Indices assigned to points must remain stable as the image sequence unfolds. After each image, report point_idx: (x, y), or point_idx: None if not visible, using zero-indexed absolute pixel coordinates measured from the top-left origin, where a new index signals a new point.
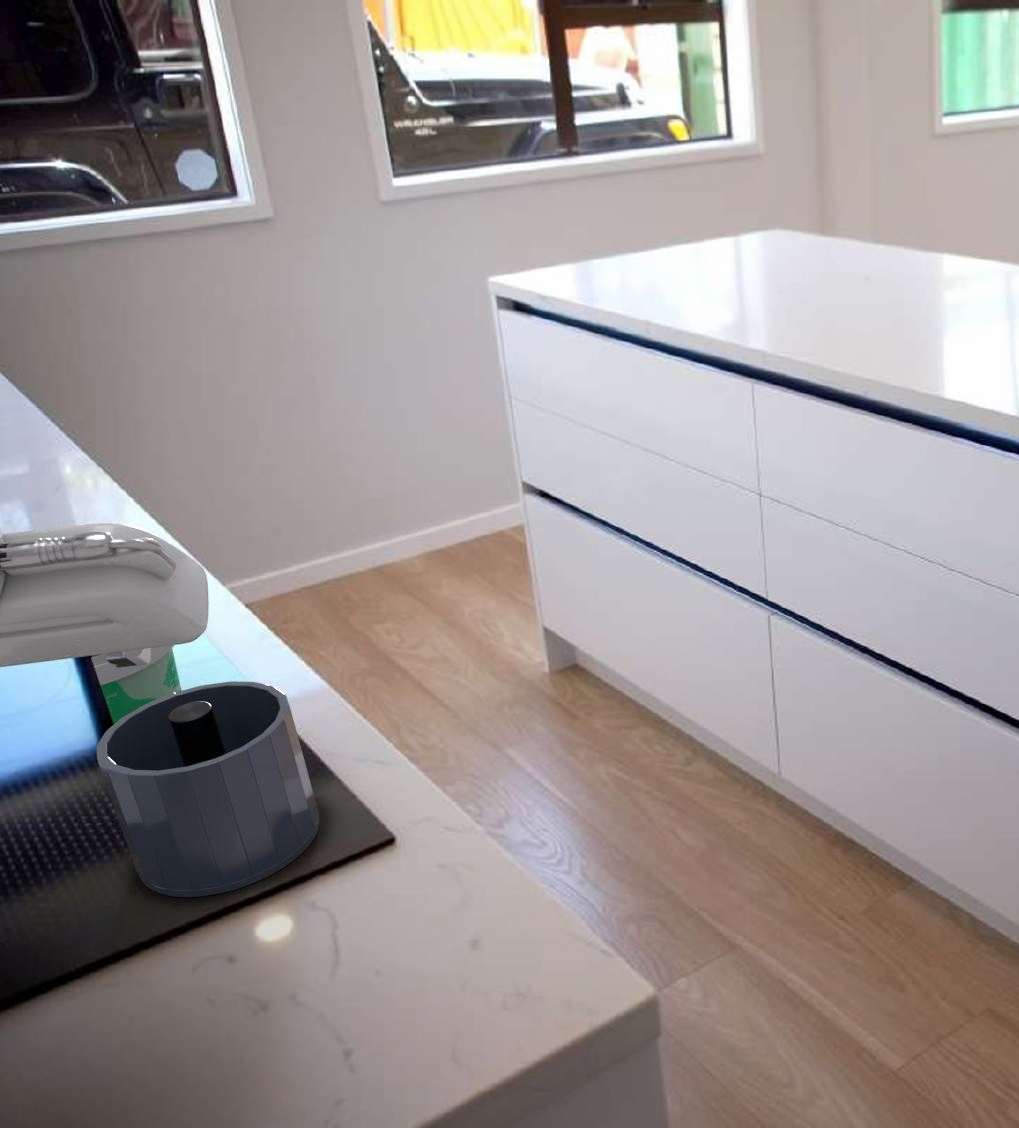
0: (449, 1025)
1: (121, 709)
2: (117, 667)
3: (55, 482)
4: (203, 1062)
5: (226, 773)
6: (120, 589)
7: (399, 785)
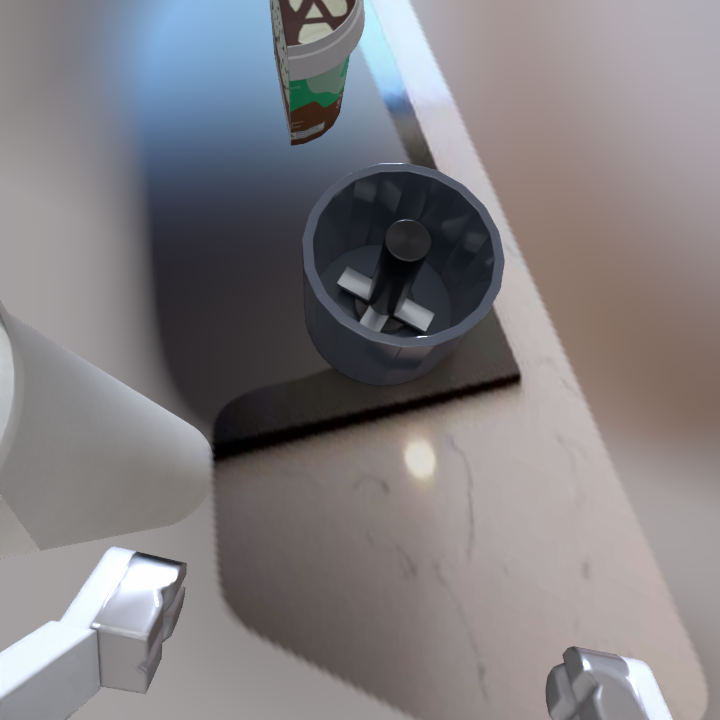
0: None
1: (300, 101)
2: (548, 705)
3: None
4: (365, 623)
5: (434, 349)
6: None
7: (524, 294)
